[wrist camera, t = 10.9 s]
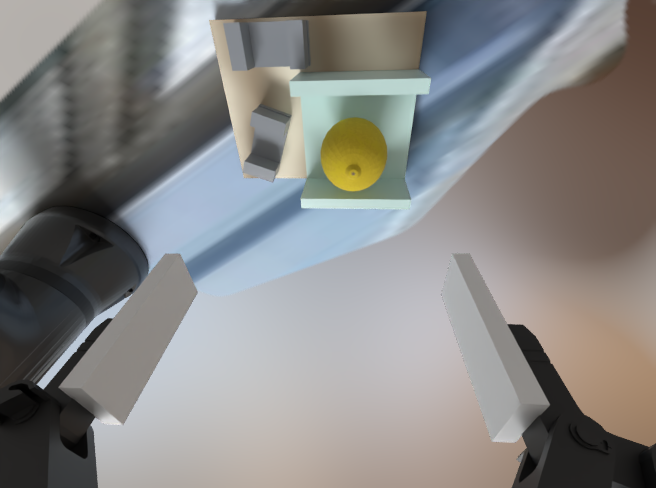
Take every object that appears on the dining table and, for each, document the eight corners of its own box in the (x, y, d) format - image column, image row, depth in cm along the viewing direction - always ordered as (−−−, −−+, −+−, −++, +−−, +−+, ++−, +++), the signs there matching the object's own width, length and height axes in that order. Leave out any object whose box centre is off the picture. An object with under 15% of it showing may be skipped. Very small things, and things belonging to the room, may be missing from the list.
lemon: (396, 131, 26) (408, 166, 20) (358, 177, 29) (359, 219, 23) (347, 93, 25) (345, 118, 19) (313, 145, 28) (301, 181, 22)
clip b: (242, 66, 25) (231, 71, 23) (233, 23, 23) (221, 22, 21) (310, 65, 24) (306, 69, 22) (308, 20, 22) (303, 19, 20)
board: (247, 173, 32) (244, 177, 31) (214, 20, 24) (209, 20, 23) (402, 173, 31) (403, 178, 30) (423, 11, 23) (426, 11, 22)
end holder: (308, 184, 31) (301, 208, 27) (299, 72, 25) (289, 81, 21) (402, 185, 30) (409, 209, 26) (418, 69, 24) (431, 78, 20)
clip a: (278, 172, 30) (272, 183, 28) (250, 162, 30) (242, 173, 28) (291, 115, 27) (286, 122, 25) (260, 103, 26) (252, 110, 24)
